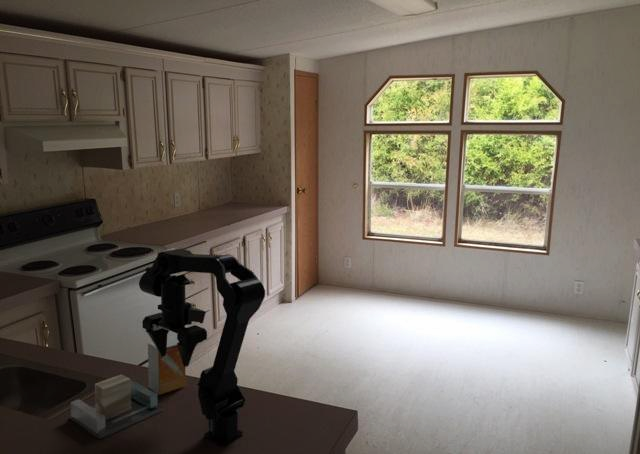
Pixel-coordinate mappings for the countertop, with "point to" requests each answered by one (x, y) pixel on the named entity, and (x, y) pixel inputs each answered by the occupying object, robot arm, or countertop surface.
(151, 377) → the small box
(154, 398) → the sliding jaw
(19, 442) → the countertop surface
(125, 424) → the vise bed
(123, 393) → the ash block
